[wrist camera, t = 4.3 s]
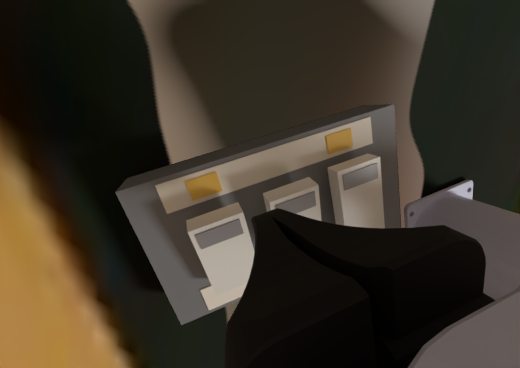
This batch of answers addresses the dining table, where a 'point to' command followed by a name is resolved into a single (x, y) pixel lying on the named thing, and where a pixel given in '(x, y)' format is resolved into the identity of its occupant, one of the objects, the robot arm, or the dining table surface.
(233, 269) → the switch
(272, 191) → the switch
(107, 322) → the dining table surface
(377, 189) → the switch
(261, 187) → the switch unit
